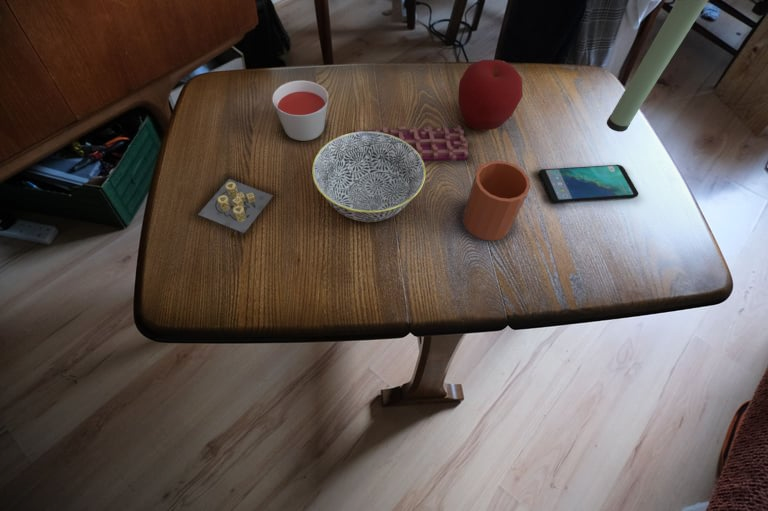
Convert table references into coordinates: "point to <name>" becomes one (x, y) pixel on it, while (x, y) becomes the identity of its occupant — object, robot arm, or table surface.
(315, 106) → the candle
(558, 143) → the table surface
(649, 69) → the green long cylinder
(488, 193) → the pen cup
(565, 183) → the smartphone
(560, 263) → the table surface
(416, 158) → the bowl
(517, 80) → the apple
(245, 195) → the gold tube cluster
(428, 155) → the chocolate bar
